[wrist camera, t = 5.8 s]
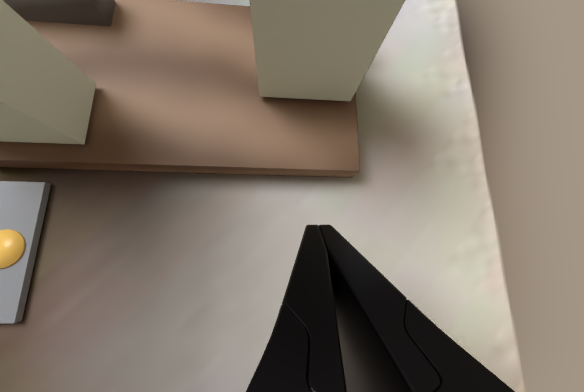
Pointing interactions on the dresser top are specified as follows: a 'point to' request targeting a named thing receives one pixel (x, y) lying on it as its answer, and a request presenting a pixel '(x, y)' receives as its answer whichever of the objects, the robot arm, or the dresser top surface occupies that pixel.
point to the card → (19, 242)
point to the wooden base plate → (181, 95)
